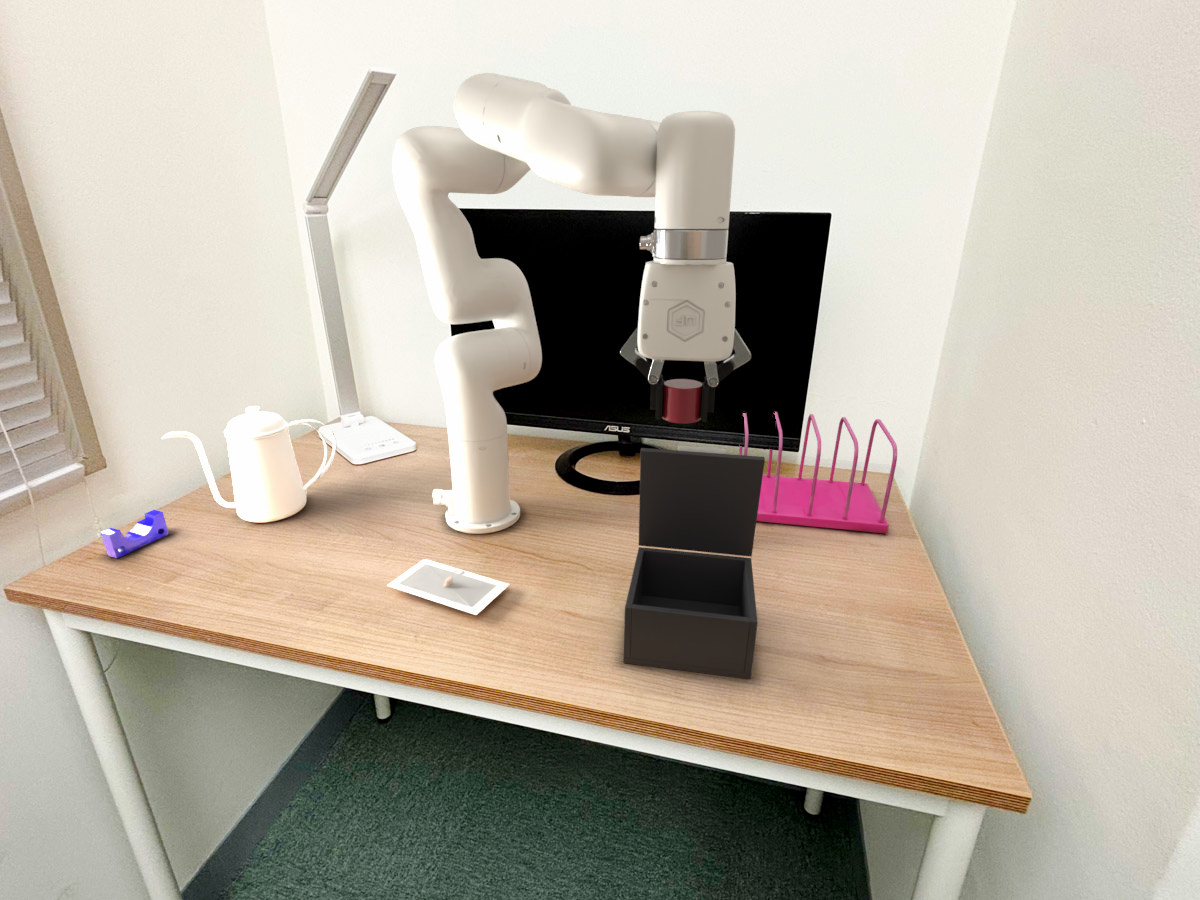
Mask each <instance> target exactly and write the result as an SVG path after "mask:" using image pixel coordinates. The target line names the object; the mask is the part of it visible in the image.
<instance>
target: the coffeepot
mask: <svg viewBox="0 0 1200 900" xmlns="http://www.w3.org/2000/svg"><path fill="white" fill-rule="evenodd" d="M309 423H317V424H319V425H323V426H324V427H326V428H327V429H328V431H329V433H330V435H331V437H332V451H331V455H330V457H329V460H328V455H329V451H328V445H327V441H326V439H325V437H324V435H323V434H322V433H321V431H319V430H318V429H317V428H316V427H314V426H313V425H311V424H309ZM297 425H298V426H299V425H300V426H306V427H309V428H312V429H314V430H315V431H316V432H317V433H318V435H319V436H320V438H321V440H322V444H323V449H324V454H323V455H324V456H323V460H322V463H321V465H320V467H319V469H318V470H317V472H316V474H315V475H314V476H313V477H312V478H311V479H309V480H308V481H307V483H306V484H303V480H302V477H301V473H300V469H299V466H298V462H297V458H296V454H295V451H294V447H293V443H292V440H291V437H290V435H291V431H290V427H294V426H297ZM223 433H224V437H225V438H226V442H227V443H226V445H227V451H228V457H229V466H230V473H231V480H232V487H233V495H234V496H233V497H234V502H228V501H225V500H224V499H223V498H222V496H221V495H220V492H219V490H218V487H217V485H216V481H215V478H214V475H213V472H212V470H211V467H210V464H209V461H208V458H207V455H206V451H205V450H204V447H203V444H202V441H201V440H200V439H199V437H198V436H197V435H195V434H194V433H192V432H189V431H184V430H181V431H180V430H177V431H170V432H167V433H166V434H164V435H163V436H162V437H161V440H164V439H171V438H172V439H173V438H187V439H189V440H191V441H192V442H193V444H194V447H195V449H196V451H197V454H198V456H199V457H198V458H199V460H200V462H201V465H202V468H203V472H204V474H205V478H206V480H207V482H208V486H209V488H210V491H211V494H212V496H213V499H214V500H215V501H216V503H218V505H220V506H222V507H223V508H226V509H235V510H236V514H237V516H238V517H239V518H240V519H242V520H243V521H247V522H250V523H271V522H276V521H281V520H285V519H287V518H289V517H292V516H294V515H296V514H297V513H299V512H300V511H302V510H303V509H304V507H305V506H306V504H307V496H308V494H307V489H308V488H309V487H311V486H312V485H314V484H315V483H317V482H318V481H319V480H320V479H321V478H322V477H323V476H324V475H325V474H326V473H327V471H328V470H329V469H330V467H331V466H332V464H333V462H334V460H335V457H336V454H337V453H336V452H337V439H336V435H335V433H334V431H332V429H331V428H330V427H329V426H328V425H327V424H325V423H323V422H321V421H319V420H316V419H310V418H309V419H298V420H294V421H290V422H288V421H286V419H284V418H283V417H282V416H281V415H280V414H278V413H276V412H271V411H261V407H260V406H259V405H253V406H247V407H246V408H245V413H244V414H241V415H238V416H236V417H233V418H232V419H230V421H228V423H227V426H226V428H225V429H224V431H223Z"/></svg>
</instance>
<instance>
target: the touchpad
mask: <svg viewBox="0 0 1200 900" xmlns="http://www.w3.org/2000/svg"><path fill="white" fill-rule="evenodd" d="M510 585H511V584H510V583H508V582H504V581H501V580H498V579H494V578H491V577H488V576H484V575H481V574H478V573H474V572H470V571H468V570H463V569H461V568H458V567H454V566H451V565H447V564H444V563H441V562H439V561H438V562H437V561H434V560H431V559H427V558H423V559H422V560H420V561H418V562H417V563H416V564H414V565H413V566H412V567H410V568H409V569H408V570H406V571H405V572H403V573H401V574H400V575H399V576H397V577H396V578H395V579H393V580H392V581H391V582H389V583H388V584H386V587H388V588H392V589H395V590H398V591H400V592H404V593H407V594H410V595H413V596H416V597H419V598H422V599H425V600H429V601H431V602H434V603H437V604H439V605H443V606H447V607H449V608H452V609H455V610H458V611H460V612H461V611H462V612H464V613H467V614H471V615H474V616H477V615H478V614H480V613H481V612H483V610H484V609H485V608H486V607H487V606H488V605H489V604H491V603H492V602H493V601H494V600H495V599H496V598H497V597H498V596H499V595H501V594H502V593H503V592H504V591H505V590H506V589H507V588H508V587H509V586H510Z"/></svg>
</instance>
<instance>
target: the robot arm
mask: <svg viewBox="0 0 1200 900" xmlns="http://www.w3.org/2000/svg"><path fill="white" fill-rule="evenodd" d="M452 108H453V114H454V118H455V120H456V123H457V125H458V127H459V128H458V127H452V126H451V127H450V126H442V125H441V126H440V125H422V126H415V127H412V128H409V129H407V130H405V131H404V132H402V133H401V135H399V137H398V139H397V140H396V142H395V145H394V148H393V149H394V150H393V153H392V166H391V167H392V177H393V184H394V187H395V188H394V189H395V193H396V195H397V198H398V200H399V202H400V205H401V208H402V210H403V212H404V215H405V216H406V218H407V221H408V224H409V226H410V228H411V230H412V232H413V236H414V240H415V242H416V247H417V252H418V256H419V260H420V264H421V269H422V273H423V277H424V282H425V286H426V289H427V294H428V297H429V302H430V304H431V307H432V310H433V312H434V315H435V317H437V319H438V320H439V321H441V322H442V323H444V324H446V325H447V324H448V325H464V324H466V325H467V324H473V323H482V322H489V321H492V323H493V326H494V328H490V329H482V330H475V331H467V332H463V333H458V334H455V335H452V336H449V337H448V338H446V339H445V340H444V341H442V342H441V343H440V344H439V346H438V347H437V349H436V352H435V354H434V365H435V371H436V375H437V376H436V377H437V379H438V382H439V383H438V384H439V386H440V390H441V393H442V398H443V403H444V409H445V416H446V418H445V419H446V427H447V438H448V449H449V450H448V451H449V462H450V474H451V475H450V476H451V485H452V486H451V487H452V488H451V489H442V488H434V489H432V493H431V498H432V505H434V506H439V507H440V506H445V507H446V508H447V509H446V511H445V514H444V515H445V523H446V524H447V526H449V527H450V528H451V529H452V530H455V531H457V532H460V533H465V534H473V535H474V534H475V535H476V534H477V535H478V534H479V535H482V534H483V535H484V534H490V533H496V532H500V531H503V530H506V529H508V528H509V527H511V526H513V525H514V524H516V523H517V522H518V520H519V519H520V517H521V507H520V505H519V504H518V503H517V501H515V500H514V499H511V483H510V459H509V458H510V457H509V438H508V422H507V416H506V413H505V410H504V408H503V407H502V406H501V405H500V403H499V402H498V400H497V399H496V397H495V395H494V392H495V391H498V390H501V389H504V388H505V389H506V388H508V387H513V386H517V385H521V384H524V383H528V382H530V381H532V380H534V379H535V378H536V377H537V376H538V374H539V373H540V371H541V368H542V364H543V352H542V351H543V349H542V344H541V339H540V334H539V330H538V329H539V328H538V325H537V321H536V315H535V310H534V306H533V301H532V300H533V299H532V296H531V291H530V287H529V284H528V281H527V279H526V277H525V275H524V273H523V272H522V270H521V269H520V267H519V266H517V264H516V263H514V262H513V261H511V260H509V259H505V258H502V257H501V258H500V257H498V258H497V257H494V258H493V257H492V258H481V257H480V256H479V253H478V250H477V247H476V243H475V237H474V233H473V230H472V227H471V224H470V223H469V221H468V220H467V217H466V216H465V214H463V212H462V210H460V208H459V207H458V206H457V205H456V204H455V202H453V201H452V200H451V199H450V197H449V194H451V193H452V194H472V195H475V194H476V195H497V194H501V193H505V192H507V191H509V190H510V189H511V188H513V187H514V186H515V185H517V184H518V183H519V181H521V180H522V179H523V178H524V177H525V176H526V175H527V174H528V173H529V172H530V171H532V172H533V173H534V174H535V175H536V176H538V177H539V178H542V179H544V180H546V181H548V182H551V183H553V184H555V185H558V186H561V187H564V188H566V189H568V190H572V191H575V192H578V193H580V194H581V193H582V194H585V195H590V196H598V197H599V196H602V197H603V196H604V197H606V196H607V197H609V196H611V197H629V198H655V199H654V205H655V207H654V226H653V227H654V230H653V232H651V233H650V234H647V235H641V236H640V238H639V250H641V251H643V250H645V251H648V252H650V254H652V257H653V260H650V261H645V265H644V269H643V274H642V280H641V286H640V287H641V288H640V294H639V295H640V296H639V306H638V318H637V319H638V320H637V327H636V328H635V329H634V331H633V332H632V334H631V335H630V336H629V338H628V339H627V341H626V342H625V343H624V344H623V346H622V347H621V349H620V350H619V354H620V356H621V357H623V358H624V359H625V360H626V361H628V362H629V363H630V364H632V365H634V366H635V367H636V369H637V370H638V371H639V372H640V373H641V374H642V375H643V376H644V377H645V379H647V382H648V383H649V384H650V398H649V410H654V411H655V416H654V418H655V420H661V419H663V418H662V412H663V387H664V382H665V381H666V380H664V374H662V372H663V367H664V365H665V361H685V362H686V361H687V362H689V361H690V362H703V363H704V370H705V376H704V381H702V384H703V388H702V404H701V419H700V421H701V422H707V423H708V413H712V414H713V413H714V412H715V402H716V401H715V399H716V387H717V386H718V385H719V383H720V382H722V381H723V380H724V379H725V378H727V376H729V375H730V374H732V372H733V371H735V370H736V369H738V368H739V367H741V366H743V365H745V364H746V363H748V362H749V361H751V359H752V353H751V351H750V349H749V348H748V346H747V345H746V343H745V342H744V340H743V338H742V337H741V335H740V333H739V332H738V331H737V329H736V328H735V327H736V300H737V299H736V298H737V297H736V295H737V293H736V275H735V267H734V263H733V262H731V261H727V254H728V241H729V227H730V212H731V201H732V200H731V199H732V198H731V197H732V186H733V185H732V184H733V173H734V172H733V171H734V157H735V142H736V127H735V123H734V120H733V119H732V118H731V117H730V116H729V115H728V114H726V113H723V112H720V111H710V110H688V111H687V110H686V111H680V112H675V113H671V114H669V115H667V116H665V117H664V118H663V119H662V120H661V121H657V120H650V119H644V118H640V117H633V116H628V115H621V114H615V113H608V112H603V111H596V110H592V109H591V110H590V109H587V108H583V107H579V106H575V105H572V104H571V101H570V100H569V99H568V98H567V96H566V95H565V94H563V93H562V92H561V91H559V90H557V89H555V88H550V87H548V86H547V85H546V84H543V83H541V82H539V81H534V80H529V79H524V78H518V77H513V76H508V75H503V74H497V73H493V72H483V73H477V74H473V75H471V76H470V77H468V78H466V79H465V80H464V81H462V83H460V85H459V86H458V88H457V90H456V92H455V94H454V98H453V107H452ZM733 351H734V353H733ZM732 353H733V354H732ZM649 359H651V360H652V362H651V360H649ZM721 361H722V362H721ZM717 362H720V363H719V364H718V363H717Z"/></svg>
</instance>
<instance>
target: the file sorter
mask: <svg viewBox="0 0 1200 900" xmlns="http://www.w3.org/2000/svg"><path fill="white" fill-rule="evenodd" d="M774 412H775V413H774ZM774 412H773V414H774V415H775V419H776V421H775V424H776V428H777V431H778V451H777V461H776V462H777V463H776V471H775V475H771V474H772V473H771V472H772V463H773V453H774V451H773V450H774V449H773V450H771V449H770V448H769V452H768V453H769V454H768V463H767V474H763V477H762V484H761V491H760V499H759V506H758V513H757V521H756V522H763V523H764V522H765V523H773V524H784V525H796V526H805V527H817V528H826V529H835V530H848V531H859V532H869V533H878V534H888V532H889V523H888V520H887V518H886V513H887V507H888V504H889V499H890V495H891V490H892V485H893V481H894V476H895V472H896V467H897V461H898V446H897V443H896V441H895V439H894V438H893V436H892V435H891V433H890V431H889V430H888V429H887V427H886V425H885V424H884V422H883V421H882V419H879V418H877V419H875V420H874V421H873V423H872V426H871V430H870V435H869V440H868V445H867V450H866V456H865V459H864V466H863V471H862V476H861V481H860V482H854V481H855V477H856V471H857V466H858V461H859V460H858V459H859V441H858V438H857V437H856V434H855V432H854V430H853V428H852V426H851V425H850V422H849V420H848V419H847V418H846V417H845V416H842V417H841V418H840V420H839V422H838V427H837V434H836V439H835V445H834V446H835V447H834V451H833V457H832V463H831V468H830V470H831V471H830V475H829V479H818V475H819V468H820V462H821V456H822V437H821V434H820V430H819V427H818V424H817V421H816V418H815V415H814V414H813V413H809V415H808V417H807V422H806V428H805V434H804V440H803V446H802V452H801V458H800V465H799V471H798V477H795V476H794V477H793V476H783V475H780V474H781V467H782V466H781V465H782V455H783V444H784V443H783V441H784V438H783V436H784V435H783V428H782V425H781V421H780V418H779V413H778V411H774ZM742 416H743V417H744V446H743V447H744V448H743V447H742V446H740V445H739V449H738V455H745V456H748V450H749V449H748V448H749V424H748V423H749V422H748V416H747V412H746V413H743V412H742ZM811 423H812V428H813V430H814V434H815V437H816V442H817V443H816V446H817V448H816V458H815V463H814V471H813V477H812V478H807V477H806V478H805V477H802V476H803V470H804V464H805V457H806V452H807V447H808V441H809V440H808V439H809V434H810V428H811ZM843 425H845V427H846V429H847V431H848V434H849V435H850V438H851V439H852V442H853V446H854V448H853V449H854V451H853V459H852V465H851V473H850V478H849V481H841V480H834V475H835V469H836V464H837V457H838V453H839V447H840V441H841V436H842V428H843ZM877 425H878V426H879V428H880V429H881V431H882V432H883V433H884V435H885V436H886V439H887V440H888V441H889V443H890V445H891V448H892V462H891V466H890V470H889V471H890V472H889V476H888V480H887V484H886V489H885V494H884V498H883V503H882V507H881V506H880V505H879V503H878V502H877V501H878V500H877V499H876V497H875V496H874V493H873V492H872V490H871V488H870V486H869V484H868V483H867V482H866V477H867V472H868V467H869V462H870V459H871V458H870V457H871V452H872V447H873V442H874V438H875V433H876V429H877Z"/></svg>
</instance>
